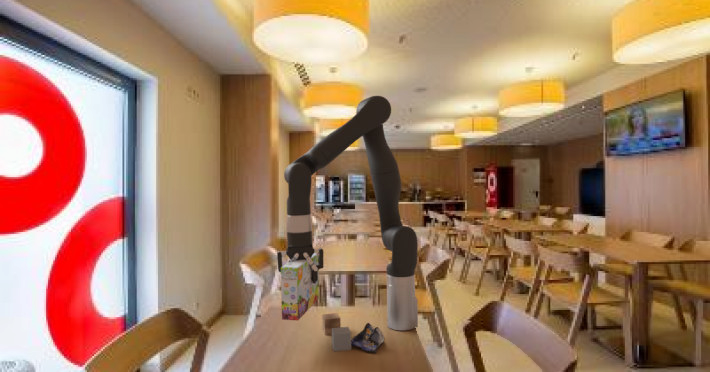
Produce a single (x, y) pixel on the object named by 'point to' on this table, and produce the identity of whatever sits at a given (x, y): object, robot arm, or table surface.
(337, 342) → the slate block
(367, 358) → the table surface
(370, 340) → the snack package
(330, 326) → the walnut block
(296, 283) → the snack box
